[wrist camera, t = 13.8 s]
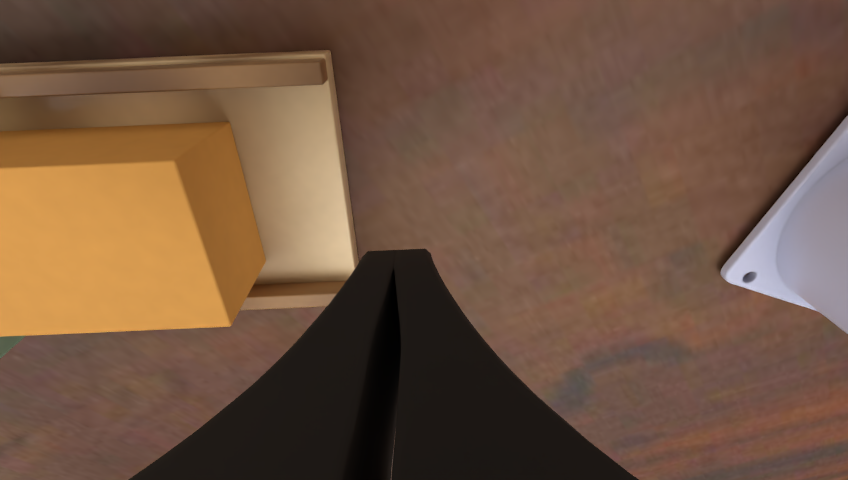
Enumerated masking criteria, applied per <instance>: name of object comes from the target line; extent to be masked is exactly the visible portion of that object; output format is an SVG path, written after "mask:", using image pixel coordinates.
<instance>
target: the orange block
mask: <svg viewBox="0 0 848 480" xmlns="http://www.w3.org/2000/svg"><path fill="white" fill-rule="evenodd" d="M265 262H266V259H265V255H264V251H263V247H262V244H261V240H260V236H259V232H258V228H257V224H256V221H255V217H254V213H253V209H252V205H251V201H250V198H249V194H248V190H247V186H246V182H245V179H244V175H243V171H242V167H241V163H240V159H239V156H238V152H237V148H236V144H235V140H234V136H233V133H232V129H231V125H230V122H208V123H184V124H161V125H138V126H114V127H91V128H67V129H44V130H20V131H0V337H4V336H26V335H49V334H71V333H94V332H116V331H139V330H162V329H184V328H207V327H229V326H231V325H232V323H233V321H234V319H235V317H236V316H237V314H238V312H239V310H240V308H241V306H242V305H243V303H244V301H245V299H246V297H247V295H248V294H249V292H250V290H251V288H252V286H253V284H254V283H255V281H256V279H257V277H258V275H259V273H260V271H261V270H262V268H263V266H264V264H265Z"/></svg>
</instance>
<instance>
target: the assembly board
mask: <svg viewBox="0 0 848 480" xmlns="http://www.w3.org/2000/svg"><path fill="white" fill-rule="evenodd" d="M208 122H230V125H231V129H232V133H233V136H234V140H235V144H236V148H237V152H238V156H239V159H240V163H241V167H242V171H243V175H244V179H245V182H246V186H247V190H248V194H249V198H250V201H251V205H252V209H253V213H254V217H255V221H256V224H257V228H258V232H259V236H260V240H261V244H262V247H263V251H264V255H265V259H266V262H265V264H264V266H263V268H262V270H261V271H260V273H259V275H258V277H257V279H256V281H255V283H254V284H253V286H252V288H251V290H250V292H249V294H248V295H247V297H246V299H245V301H244V303H243V305H242V306H241V308H240V310H257V309H280V308H302V307H325V306H328V304H329V303H330V302H331V301H332V299H333V298H334V297H335V295H336V294H337V293H338V292H339V290H340V289H341V288H342V286H343V285H344V284H345V282H346V281H347V279H348V278H349V277H350V275H351V274H352V272H353V271H354V269H355V268H356V266H357V265H358V263H359V261H358V253H357V246H356V238H355V231H354V223H353V216H352V208H351V201H350V193H349V186H348V178H347V171H346V163H345V156H344V148H343V141H342V133H341V126H340V118H339V111H338V103H337V96H336V88H335V81H334V73H333V66H332V58H331V52H330V50H316V51H292V52H269V53H245V54H221V55H197V56H173V57H150V58H126V59H102V60H78V61H54V62H31V63H7V64H0V131H20V130H44V129H67V128H91V127H114V126H138V125H161V124H184V123H208Z"/></svg>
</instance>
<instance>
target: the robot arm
mask: <svg viewBox="0 0 848 480" xmlns="http://www.w3.org/2000/svg"><path fill="white" fill-rule="evenodd" d="M747 273H748V274H747ZM720 274H721V276H722V277H723V278H724V279H725V280H726V281H727V282H729V283H731V284H734V285H737V286H740V287H743V288H747V289H750V290H753V291H756V292H759V293H762V294H765V295H769V296H772V297H775V298H778V299H781V300H784V301H787V302H791V303H794V304H797V305H800V306H803V307H806V308H809V309H813V310H816V311H819V312H820V313H821V314H823V315H824V316H825V317H826V318H828V319H829V320H830V321H832V322H833V323H834V324H835V325H837V326H838V327H839V328H841V329H842V330H843V331H844V332H846V333H847V334H848V115H847V116H846V118H845V119H844V120H843V121H842V122H841V124H840V125H839V126H838V127H837V129H836V130H835V131H834V132H833V133H832V135H831V136H830V137H829V138H828V139H827V141H826V142H825V143H824V144H823V145H822V147H821V148H820V149H819V150H818V152H817V153H816V154H815V155H814V156H813V158H812V159H811V160H810V161H809V162H808V164H807V165H806V166H805V167H804V168H803V170H802V171H801V172H800V173H799V175H798V176H797V177H796V178H795V179H794V181H793V182H792V183H791V184H790V185H789V187H788V188H787V189H786V190H785V191H784V193H783V194H782V195H781V196H780V198H779V199H778V200H777V201H776V202H775V204H774V205H773V206H772V207H771V208H770V210H769V211H768V212H767V213H766V214H765V216H764V217H763V218H762V219H761V221H760V222H759V223H758V224H757V225H756V227H755V228H754V229H753V230H752V231H751V233H750V234H749V235H748V236H747V237H746V239H745V240H744V241H743V242H742V243H741V245H740V246H739V247H738V248H737V250H736V251H735V252H734V253H733V254H732V256H731V257H730V258H729V259H728V260H727V262H726V263H725V264H724V265H723V267H722V269H721V273H720ZM746 274H747V275H746ZM744 275H746V276H744ZM395 430H396V433H395ZM394 439H395V445H394ZM393 448H394V457H393ZM392 457H393V468H392V480H639V479H637V478H636V477H634V476H633V475H631V474H630V473H629V472H627V471H626V470H625V469H624V468H622V467H621V466H620V465H618V464H617V463H616V462H615V461H613V460H612V459H611V458H609V457H608V456H607V455H606V454H604V453H603V452H602V451H601V450H599V449H598V448H597V447H595V446H594V445H593V444H592V443H590V442H589V441H588V440H587V439H585V438H584V437H583V436H582V435H581V434H580V433H579V432H577V431H576V430H575V429H574V428H573V427H572V426H571V425H569V424H568V423H567V422H566V421H565V420H564V419H563V418H561V417H560V416H559V415H558V414H557V413H556V412H555V411H553V410H552V409H551V408H550V407H549V406H548V405H546V404H545V403H544V402H543V401H542V400H541V399H540V398H538V397H537V396H536V395H535V394H534V393H533V392H532V391H531V390H530V389H529V388H528V387H527V386H526V385H525V384H524V383H523V382H522V381H521V380H520V379H519V378H518V377H517V376H516V375H515V374H514V373H513V372H512V371H511V370H510V369H509V368H508V366H507V365H506V364H505V363H504V362H503V361H502V360H501V359H500V358H499V357H498V356H497V355H496V353H495V352H494V351H493V350H492V349H491V348H490V347H489V345H488V344H487V343H486V342H485V341H484V339H483V338H482V337H481V336H480V334H479V333H478V332H477V331H476V329H475V328H474V327H473V325H472V324H471V323H470V322H469V320H468V319H467V317H466V316H465V315H464V313H463V312H462V310H461V309H460V307H459V306H458V304H457V303H456V301H455V300H454V298H453V297H452V295H451V294H450V292H449V291H448V289H447V287H446V286H445V284H444V282H443V281H442V279H441V277H440V275H439V273H438V271H437V269H436V267H435V265H434V263H433V260H432V257H431V253H429V252H428V251H427V250H426V249H410V250H388V251H368V252H367V253H366V254H365V255H364V256H363V257H362V259H361V260H360V262H359V263H358V265H357V266H356V268H355V269H354V271H353V272H352V274H351V275H350V277H349V278H348V279H347V281H346V282H345V284H344V285H343V286H342V288H341V289H340V290H339V292H338V293H337V294H336V295H335V297H334V298H333V299H332V301H331V302H330V303H329V304H328V306H327V307H326V308H325V310H324V311H323V312H322V313H321V314H320V316H319V317H318V318H317V319H316V320H315V321H314V322H313V324H312V325H311V326H310V327H309V328H308V329H307V330H306V332H305V333H304V334H303V335H302V336H301V337H300V338H299V339H298V341H297V342H296V343H295V344H294V345H293V346H292V347H291V348H290V349H289V350H288V351H287V352H286V353H285V354H284V355H283V356H282V357H281V358H280V359H279V360H278V361H277V362H276V363H275V364H274V365H273V366H272V367H271V368H270V369H269V370H268V371H267V372H266V373H265V374H264V375H263V376H262V377H260V378H259V379H258V380H257V381H256V382H255V383H254V384H253V385H252V386H251V387H249V388H248V389H247V390H246V391H245V392H244V393H242V394H241V395H240V396H239V397H238V398H236V399H235V400H234V401H233V402H231V403H230V404H229V405H228V406H227V407H225V408H224V409H223V410H222V411H220V412H219V413H218V414H217V415H216V416H214V417H213V418H212V419H211V420H209V421H208V422H207V423H206V424H205V425H203V426H202V427H201V428H200V429H198V430H197V431H196V432H194V433H193V434H192V435H190V436H189V437H188V438H186V439H185V440H184V441H182V442H181V443H180V444H178V445H177V446H175V447H174V448H173V449H171V450H170V451H169V452H167V453H166V454H165V455H163V456H162V457H160V458H159V459H158V460H156V461H155V462H153V463H152V464H150V465H149V466H148V467H146V468H145V469H143V470H142V471H140V472H139V473H138V474H136V475H135V476H133V477H132V478H130V479H129V480H391V466H392Z"/></svg>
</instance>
